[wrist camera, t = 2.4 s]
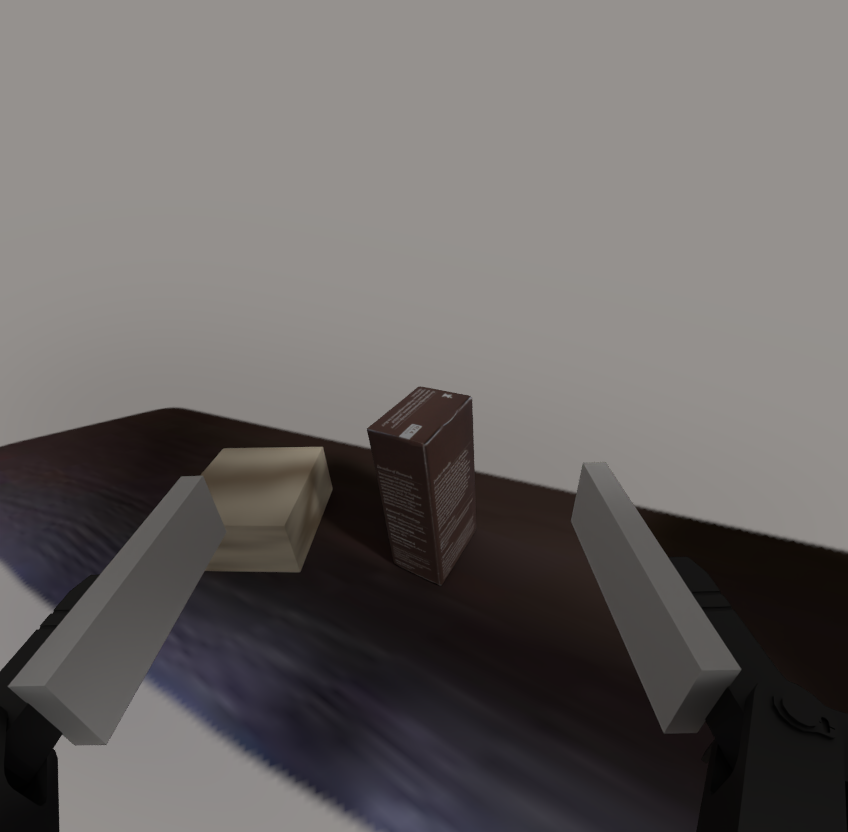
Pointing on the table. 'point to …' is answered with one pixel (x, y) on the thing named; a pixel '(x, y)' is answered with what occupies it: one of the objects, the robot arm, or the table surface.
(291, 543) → the ash block
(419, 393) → the box
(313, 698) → the table surface
